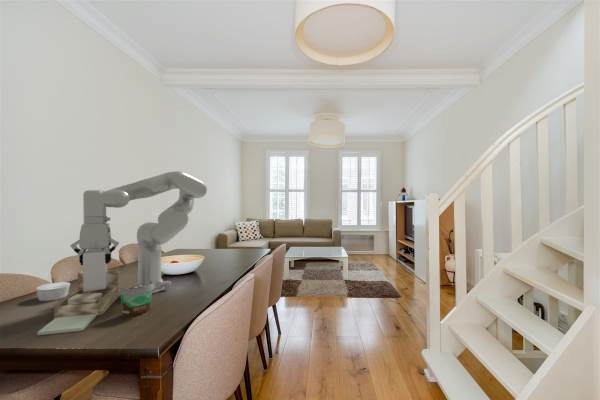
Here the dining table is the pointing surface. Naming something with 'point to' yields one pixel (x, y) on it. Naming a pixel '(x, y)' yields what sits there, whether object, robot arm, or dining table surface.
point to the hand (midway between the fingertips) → (95, 263)
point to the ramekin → (52, 291)
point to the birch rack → (95, 308)
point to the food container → (136, 299)
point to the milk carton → (94, 269)
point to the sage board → (67, 324)
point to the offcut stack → (84, 299)
